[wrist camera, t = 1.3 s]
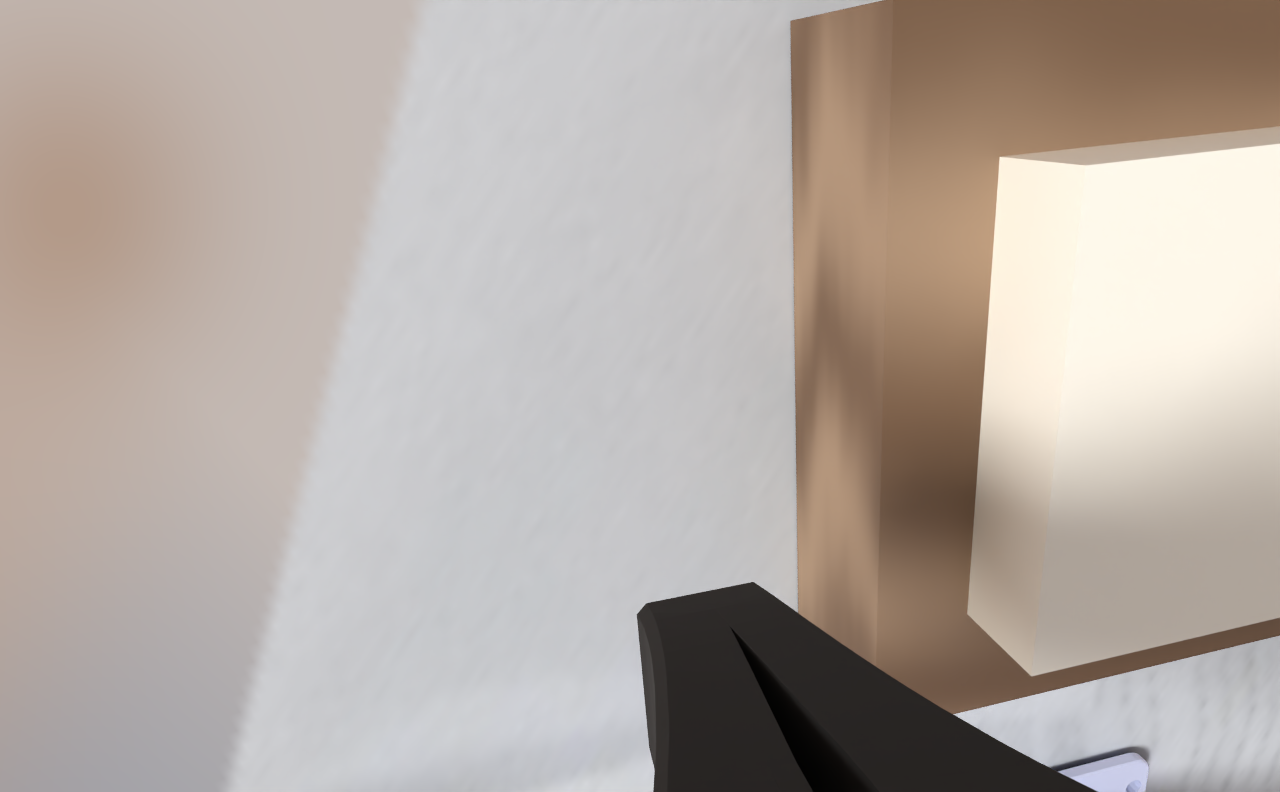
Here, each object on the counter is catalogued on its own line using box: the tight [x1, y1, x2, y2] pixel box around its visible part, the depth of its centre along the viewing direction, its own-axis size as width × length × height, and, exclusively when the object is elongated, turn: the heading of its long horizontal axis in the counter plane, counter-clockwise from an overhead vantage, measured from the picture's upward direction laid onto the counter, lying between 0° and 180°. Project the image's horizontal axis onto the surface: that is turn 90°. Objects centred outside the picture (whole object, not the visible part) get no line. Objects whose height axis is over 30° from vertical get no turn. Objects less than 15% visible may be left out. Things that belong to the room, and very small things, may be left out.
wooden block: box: [791, 0, 1280, 714], centre depth 18 cm, size 14×12×4 cm
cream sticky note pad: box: [967, 126, 1280, 676], centre depth 15 cm, size 9×6×2 cm, turn 4°
